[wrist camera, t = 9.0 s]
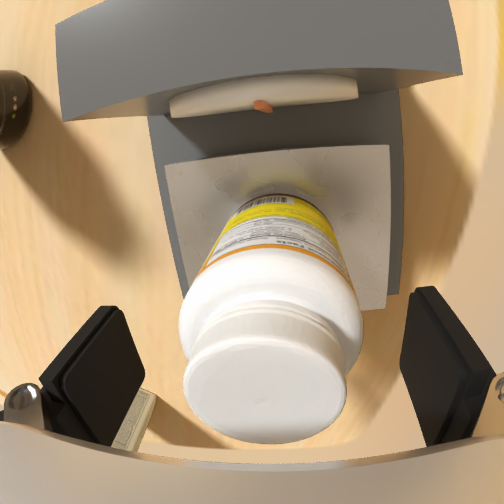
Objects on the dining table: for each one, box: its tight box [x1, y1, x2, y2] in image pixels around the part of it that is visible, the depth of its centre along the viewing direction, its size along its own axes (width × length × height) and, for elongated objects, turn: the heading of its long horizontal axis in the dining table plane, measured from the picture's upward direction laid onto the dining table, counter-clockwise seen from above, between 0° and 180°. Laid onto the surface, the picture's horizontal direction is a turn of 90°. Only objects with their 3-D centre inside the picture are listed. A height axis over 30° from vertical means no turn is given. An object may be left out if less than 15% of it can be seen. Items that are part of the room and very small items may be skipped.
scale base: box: [56, 0, 463, 299], centre depth 14 cm, size 16×14×11 cm
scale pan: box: [164, 143, 391, 311], centre depth 17 cm, size 9×11×2 cm
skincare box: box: [111, 388, 157, 452], centre depth 24 cm, size 6×4×12 cm
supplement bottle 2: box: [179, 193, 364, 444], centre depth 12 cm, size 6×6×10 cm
